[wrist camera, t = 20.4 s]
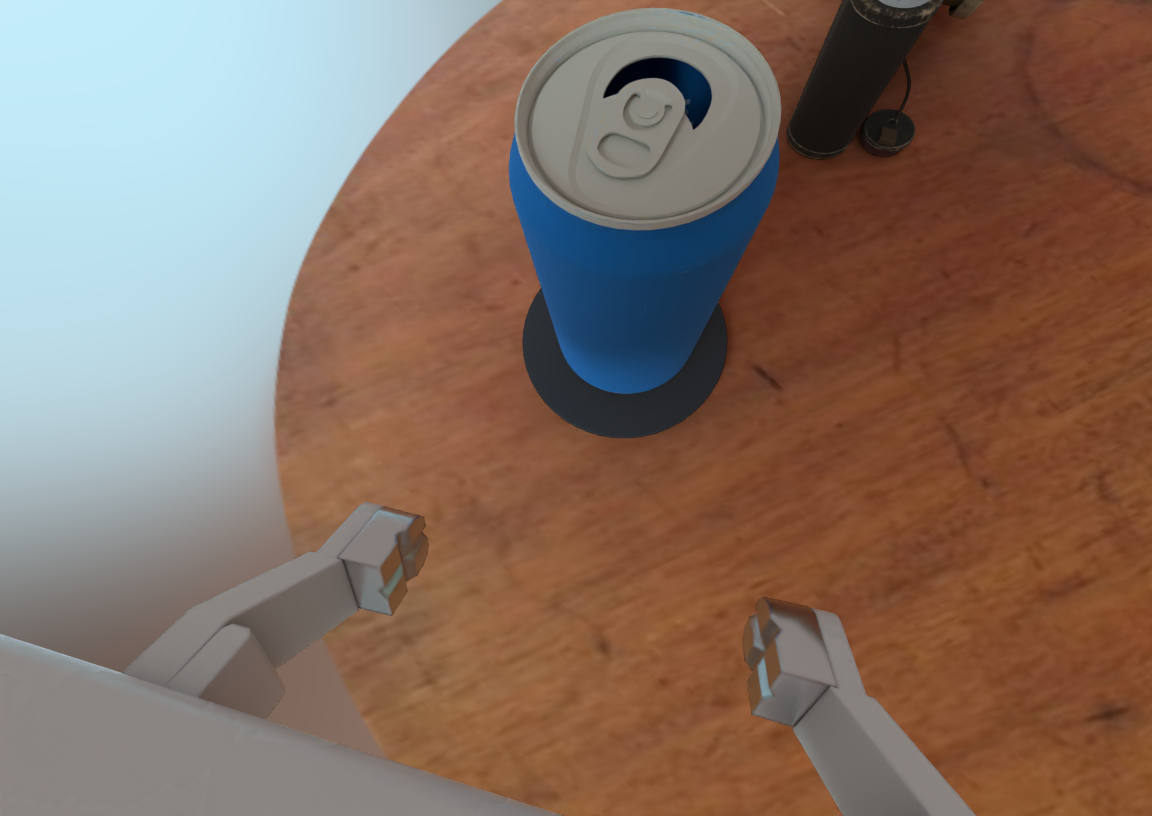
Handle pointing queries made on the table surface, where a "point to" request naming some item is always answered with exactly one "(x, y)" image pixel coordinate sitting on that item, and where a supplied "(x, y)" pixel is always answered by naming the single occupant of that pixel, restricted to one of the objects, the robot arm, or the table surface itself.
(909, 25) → the camera
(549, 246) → the beverage can
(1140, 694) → the table surface
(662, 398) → the coaster
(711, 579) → the table surface
